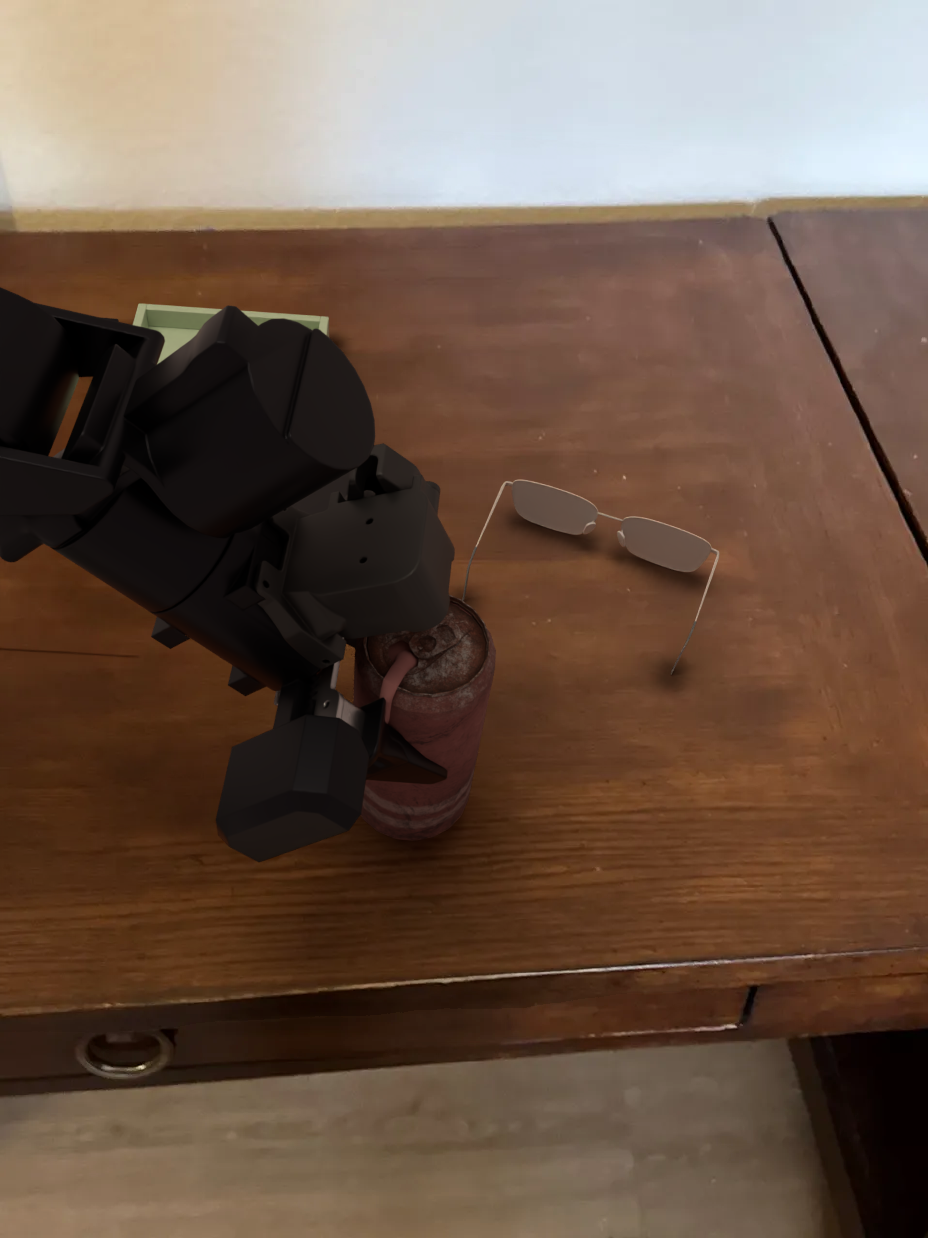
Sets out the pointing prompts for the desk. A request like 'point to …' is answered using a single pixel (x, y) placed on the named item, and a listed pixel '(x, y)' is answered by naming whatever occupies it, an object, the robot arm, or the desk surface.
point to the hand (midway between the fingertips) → (445, 730)
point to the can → (428, 715)
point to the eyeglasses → (636, 532)
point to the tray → (188, 321)
